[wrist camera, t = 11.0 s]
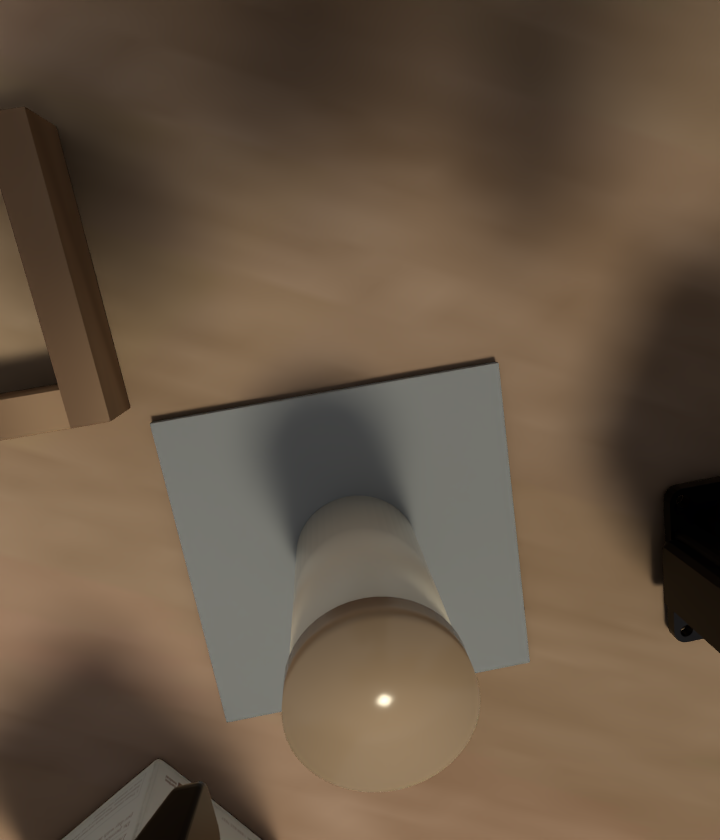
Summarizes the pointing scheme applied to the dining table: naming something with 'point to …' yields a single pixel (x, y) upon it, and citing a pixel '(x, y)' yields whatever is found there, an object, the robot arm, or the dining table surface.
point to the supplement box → (146, 809)
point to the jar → (372, 654)
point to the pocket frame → (55, 286)
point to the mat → (330, 480)
